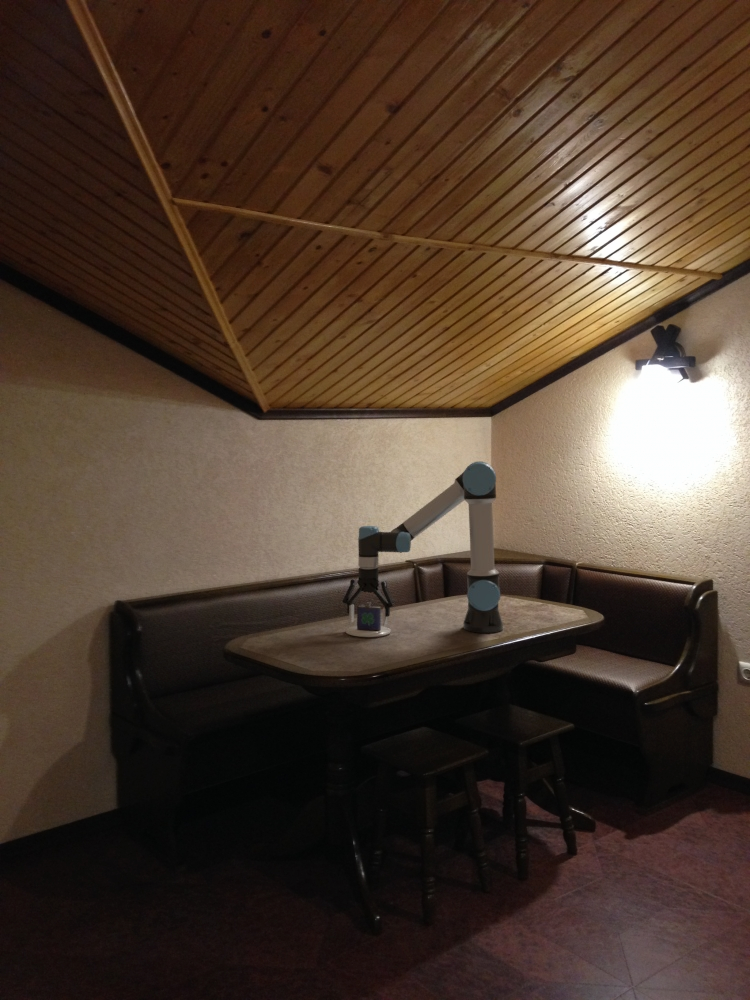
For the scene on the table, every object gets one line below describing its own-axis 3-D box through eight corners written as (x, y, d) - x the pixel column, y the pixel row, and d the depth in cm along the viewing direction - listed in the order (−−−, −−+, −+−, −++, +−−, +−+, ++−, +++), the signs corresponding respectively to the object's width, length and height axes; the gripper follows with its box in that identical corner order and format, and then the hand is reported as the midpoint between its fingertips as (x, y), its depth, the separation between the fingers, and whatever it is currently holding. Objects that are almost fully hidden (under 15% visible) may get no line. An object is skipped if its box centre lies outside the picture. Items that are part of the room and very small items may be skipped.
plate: (397, 630, 315) (397, 627, 315) (380, 640, 299) (380, 637, 299) (356, 626, 322) (356, 623, 321) (338, 636, 306) (338, 632, 306)
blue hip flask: (381, 630, 311) (381, 601, 310) (379, 631, 308) (379, 603, 307) (358, 628, 313) (358, 600, 312) (355, 630, 310) (355, 602, 309)
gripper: (403, 568, 308) (402, 624, 309) (342, 564, 317) (342, 618, 318) (396, 570, 301) (395, 628, 302) (334, 566, 310) (334, 622, 311)
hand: (368, 623), depth 310 cm, fingers open, 13 cm apart
